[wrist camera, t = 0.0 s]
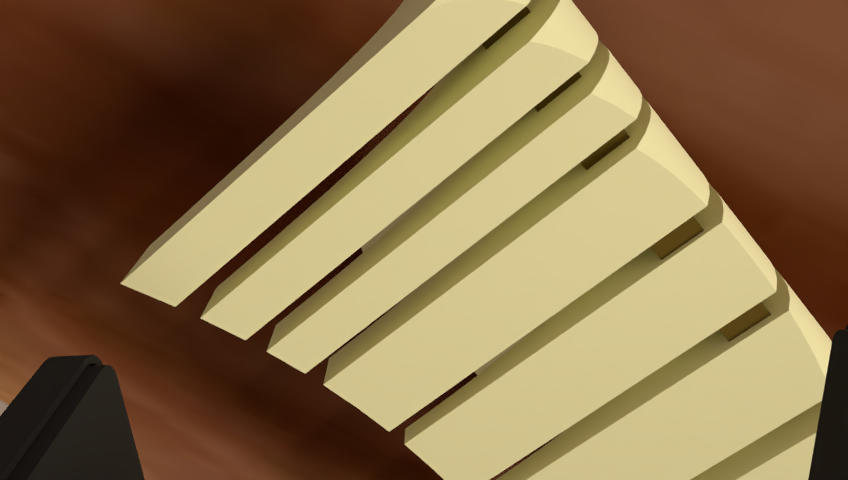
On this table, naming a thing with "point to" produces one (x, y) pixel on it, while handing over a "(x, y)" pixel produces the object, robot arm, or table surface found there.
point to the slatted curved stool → (511, 262)
